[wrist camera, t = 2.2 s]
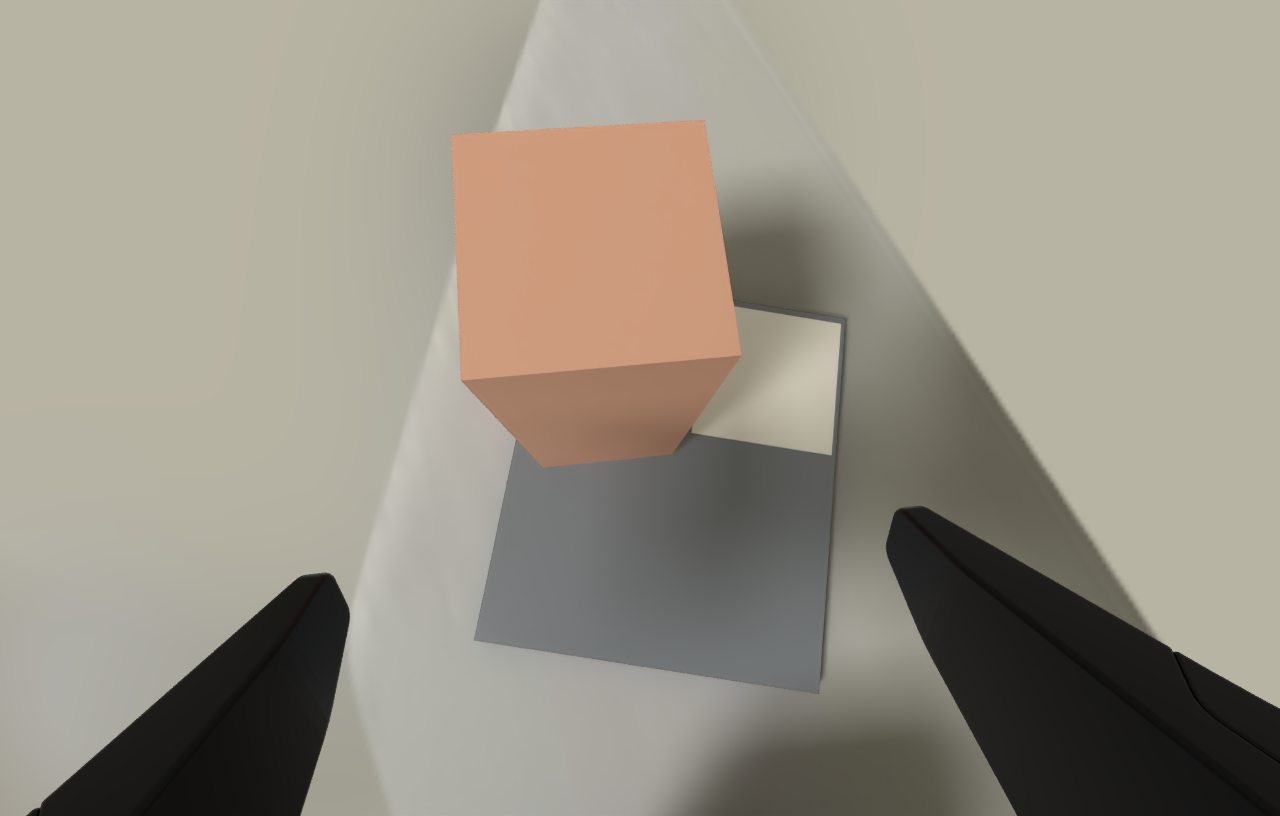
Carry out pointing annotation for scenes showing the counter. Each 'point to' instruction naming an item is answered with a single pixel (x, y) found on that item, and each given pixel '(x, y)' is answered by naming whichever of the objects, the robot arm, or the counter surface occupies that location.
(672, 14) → the counter surface
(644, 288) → the column
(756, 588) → the baseplate
